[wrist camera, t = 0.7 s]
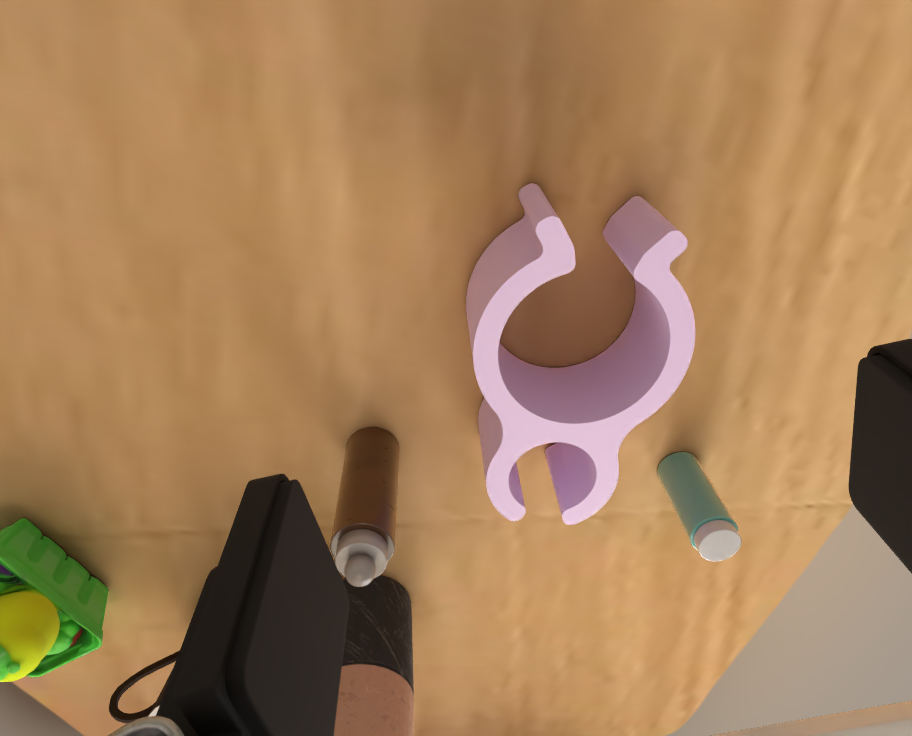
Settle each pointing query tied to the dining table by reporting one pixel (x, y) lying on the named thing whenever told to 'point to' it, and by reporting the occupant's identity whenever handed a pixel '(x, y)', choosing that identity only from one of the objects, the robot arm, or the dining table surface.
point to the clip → (583, 385)
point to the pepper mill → (366, 506)
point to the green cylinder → (699, 507)
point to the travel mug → (377, 662)
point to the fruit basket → (44, 605)
